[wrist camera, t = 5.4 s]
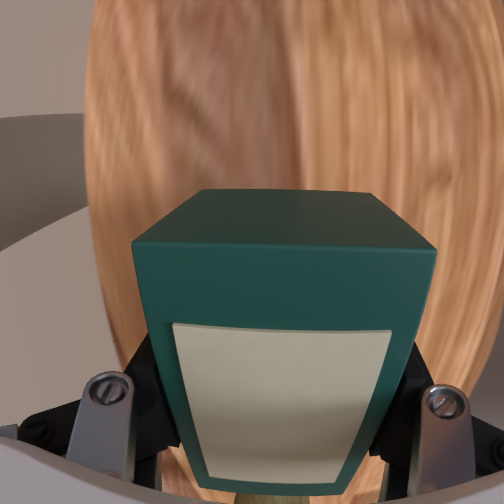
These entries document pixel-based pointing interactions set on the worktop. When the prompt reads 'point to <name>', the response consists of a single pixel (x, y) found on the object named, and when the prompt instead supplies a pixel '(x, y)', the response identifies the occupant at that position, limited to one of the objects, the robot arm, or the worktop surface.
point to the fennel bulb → (269, 499)
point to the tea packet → (281, 331)
